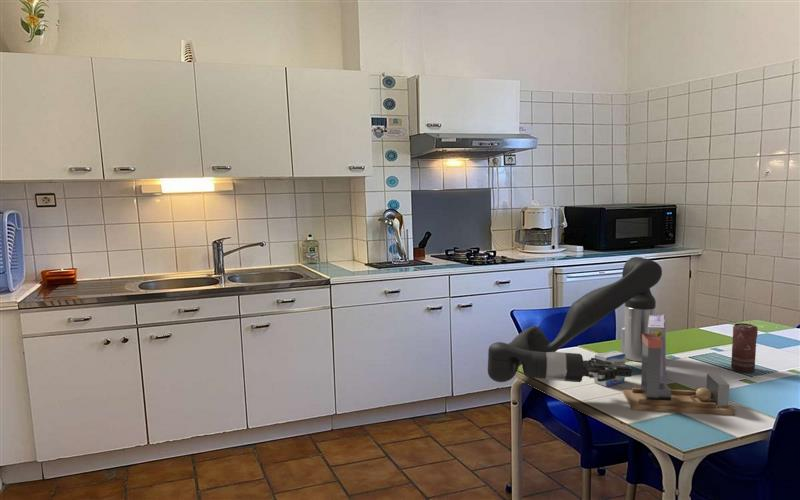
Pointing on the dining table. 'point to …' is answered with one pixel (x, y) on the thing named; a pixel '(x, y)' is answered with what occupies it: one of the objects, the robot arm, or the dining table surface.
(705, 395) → the walnut
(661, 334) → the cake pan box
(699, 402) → the board
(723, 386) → the grey stop block
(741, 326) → the can
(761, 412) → the dining table surface
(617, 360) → the medicine box
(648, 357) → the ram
